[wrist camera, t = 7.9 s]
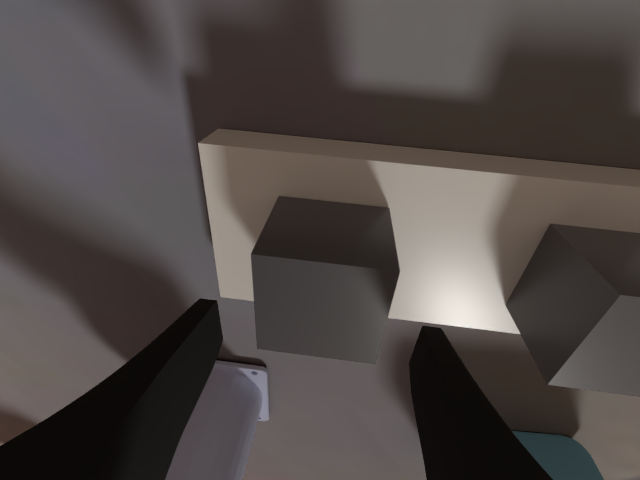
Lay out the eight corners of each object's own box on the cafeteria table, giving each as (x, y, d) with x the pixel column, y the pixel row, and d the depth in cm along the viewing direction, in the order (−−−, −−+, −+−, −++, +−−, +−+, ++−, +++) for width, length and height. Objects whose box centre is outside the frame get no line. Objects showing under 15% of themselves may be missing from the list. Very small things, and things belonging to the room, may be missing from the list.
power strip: (234, 271, 20) (185, 364, 15) (218, 128, 15) (136, 186, 10) (688, 325, 19) (828, 451, 13) (832, 188, 14) (1156, 296, 8)
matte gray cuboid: (287, 252, 19) (257, 348, 13) (288, 174, 16) (250, 254, 11) (370, 262, 19) (375, 364, 13) (385, 184, 16) (400, 271, 10)
